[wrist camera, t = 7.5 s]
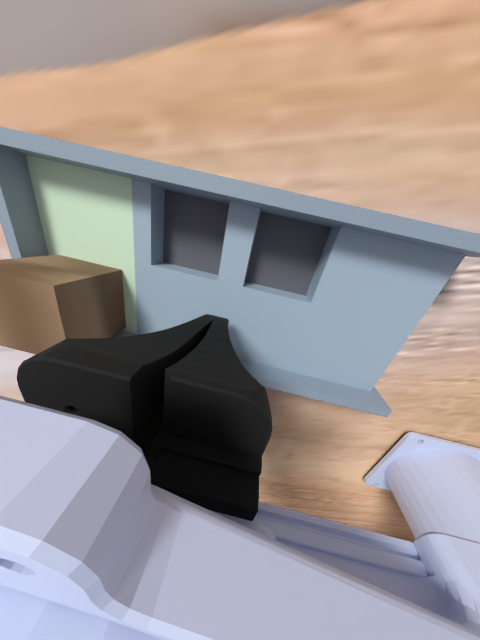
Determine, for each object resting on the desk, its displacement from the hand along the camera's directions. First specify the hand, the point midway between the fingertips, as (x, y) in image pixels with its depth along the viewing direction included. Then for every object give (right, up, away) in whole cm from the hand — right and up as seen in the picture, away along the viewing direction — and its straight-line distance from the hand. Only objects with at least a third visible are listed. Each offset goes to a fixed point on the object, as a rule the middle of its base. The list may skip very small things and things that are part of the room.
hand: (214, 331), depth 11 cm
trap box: (+1, +3, +1) cm, 3 cm away
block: (-8, +2, +1) cm, 8 cm away
